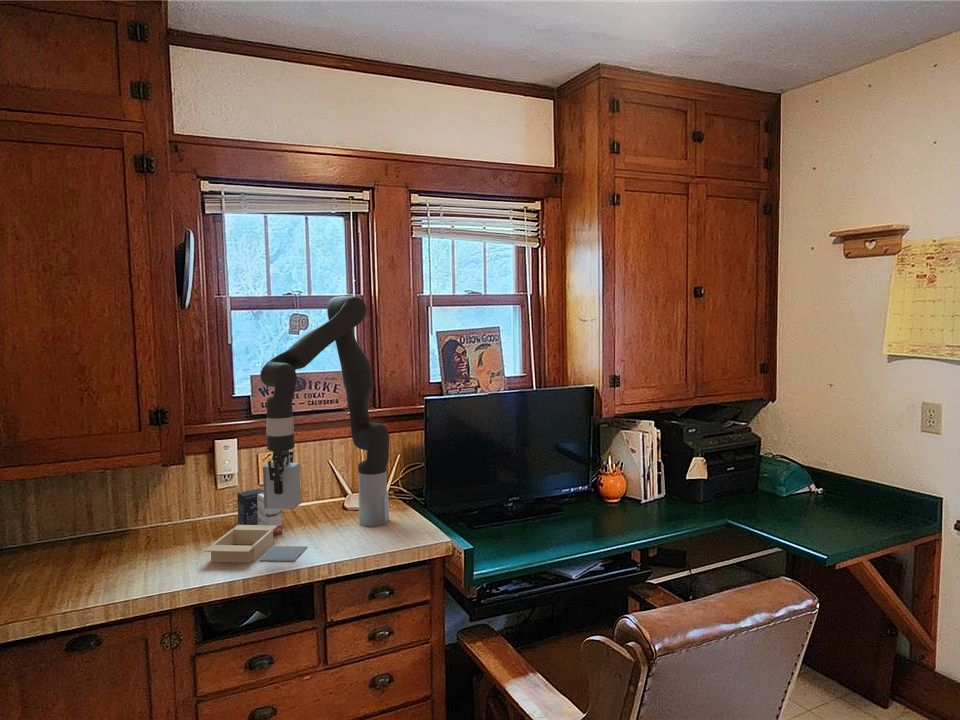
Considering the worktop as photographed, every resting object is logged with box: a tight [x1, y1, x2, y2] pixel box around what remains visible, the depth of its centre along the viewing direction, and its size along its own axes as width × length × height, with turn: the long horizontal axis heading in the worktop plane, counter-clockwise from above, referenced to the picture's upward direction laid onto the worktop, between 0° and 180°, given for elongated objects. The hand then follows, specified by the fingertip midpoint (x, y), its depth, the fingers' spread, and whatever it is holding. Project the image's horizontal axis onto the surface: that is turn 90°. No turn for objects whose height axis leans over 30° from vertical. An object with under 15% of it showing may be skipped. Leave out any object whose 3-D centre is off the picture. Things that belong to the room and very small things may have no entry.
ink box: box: [257, 493, 283, 536], centre depth 209 cm, size 8×5×12 cm, turn 39°
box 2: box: [262, 462, 302, 510], centre depth 188 cm, size 9×5×12 cm, turn 86°
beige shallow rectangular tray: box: [203, 524, 278, 563], centre depth 192 cm, size 13×22×4 cm, turn 176°
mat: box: [259, 545, 308, 563], centre depth 190 cm, size 10×11×1 cm
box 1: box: [236, 488, 264, 525], centre depth 218 cm, size 8×6×11 cm
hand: (282, 490), depth 189 cm, fingers closed on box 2, 5 cm apart
